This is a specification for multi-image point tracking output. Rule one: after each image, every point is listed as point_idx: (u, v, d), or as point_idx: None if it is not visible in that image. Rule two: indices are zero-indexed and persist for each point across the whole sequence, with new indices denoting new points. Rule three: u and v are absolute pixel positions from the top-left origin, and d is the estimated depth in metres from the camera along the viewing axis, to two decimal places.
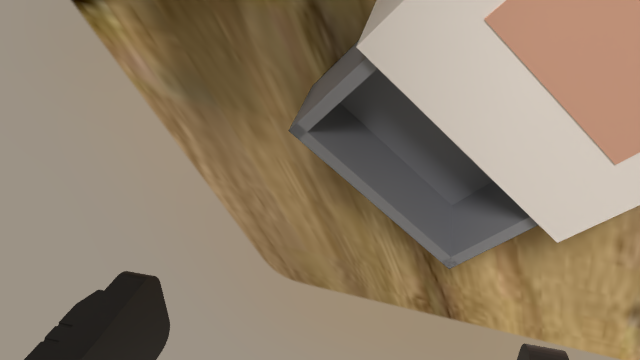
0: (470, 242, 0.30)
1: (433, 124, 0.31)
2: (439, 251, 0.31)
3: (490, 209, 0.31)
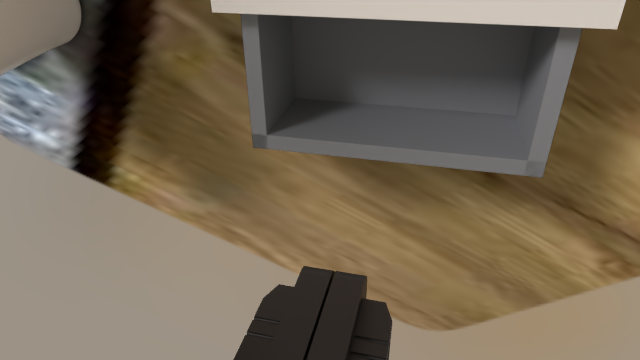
0: (533, 125, 0.21)
1: (409, 45, 0.26)
2: (508, 163, 0.22)
3: (535, 75, 0.22)
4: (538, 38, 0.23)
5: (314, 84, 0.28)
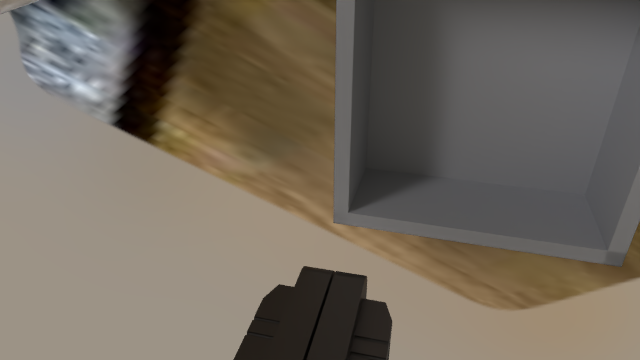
0: (615, 218, 0.22)
1: (483, 127, 0.27)
2: (587, 252, 0.23)
3: (614, 167, 0.23)
4: (616, 131, 0.23)
5: (386, 156, 0.29)
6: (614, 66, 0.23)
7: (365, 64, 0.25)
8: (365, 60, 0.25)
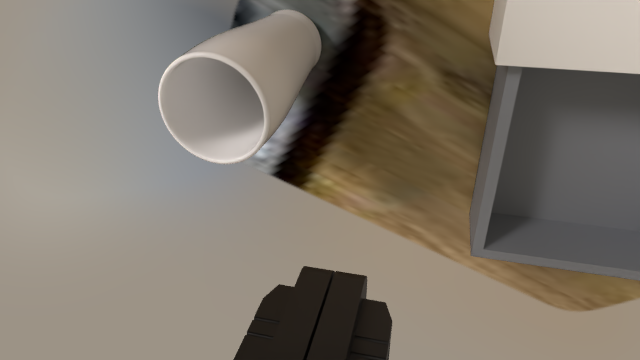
0: None
1: (574, 185, 0.38)
2: None
3: None
4: None
5: (497, 203, 0.40)
6: None
7: None
8: None
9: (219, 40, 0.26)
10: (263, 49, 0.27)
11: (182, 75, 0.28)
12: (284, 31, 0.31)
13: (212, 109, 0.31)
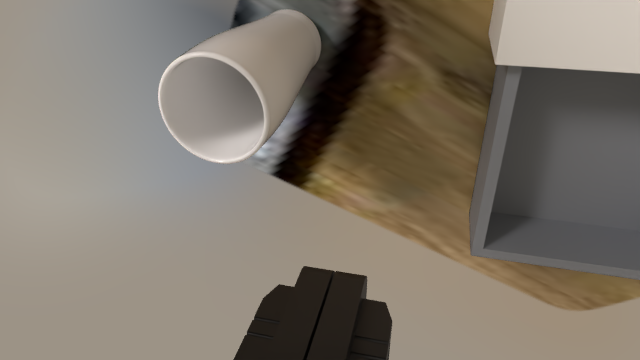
0: None
1: (573, 185, 0.38)
2: None
3: None
4: None
5: (497, 203, 0.40)
6: None
7: None
8: None
9: (219, 40, 0.26)
10: (263, 49, 0.27)
11: (182, 75, 0.28)
12: (284, 31, 0.31)
13: (212, 109, 0.31)
